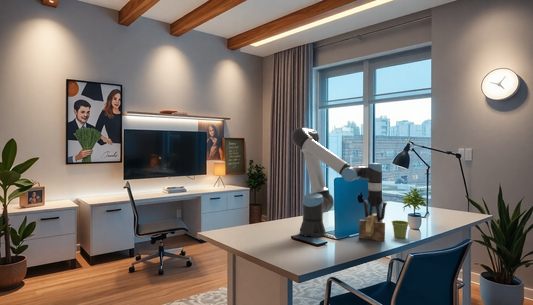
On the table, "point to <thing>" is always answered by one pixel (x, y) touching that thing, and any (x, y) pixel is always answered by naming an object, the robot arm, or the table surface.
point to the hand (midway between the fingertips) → (374, 230)
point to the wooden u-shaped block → (377, 234)
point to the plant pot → (400, 228)
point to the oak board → (370, 224)
